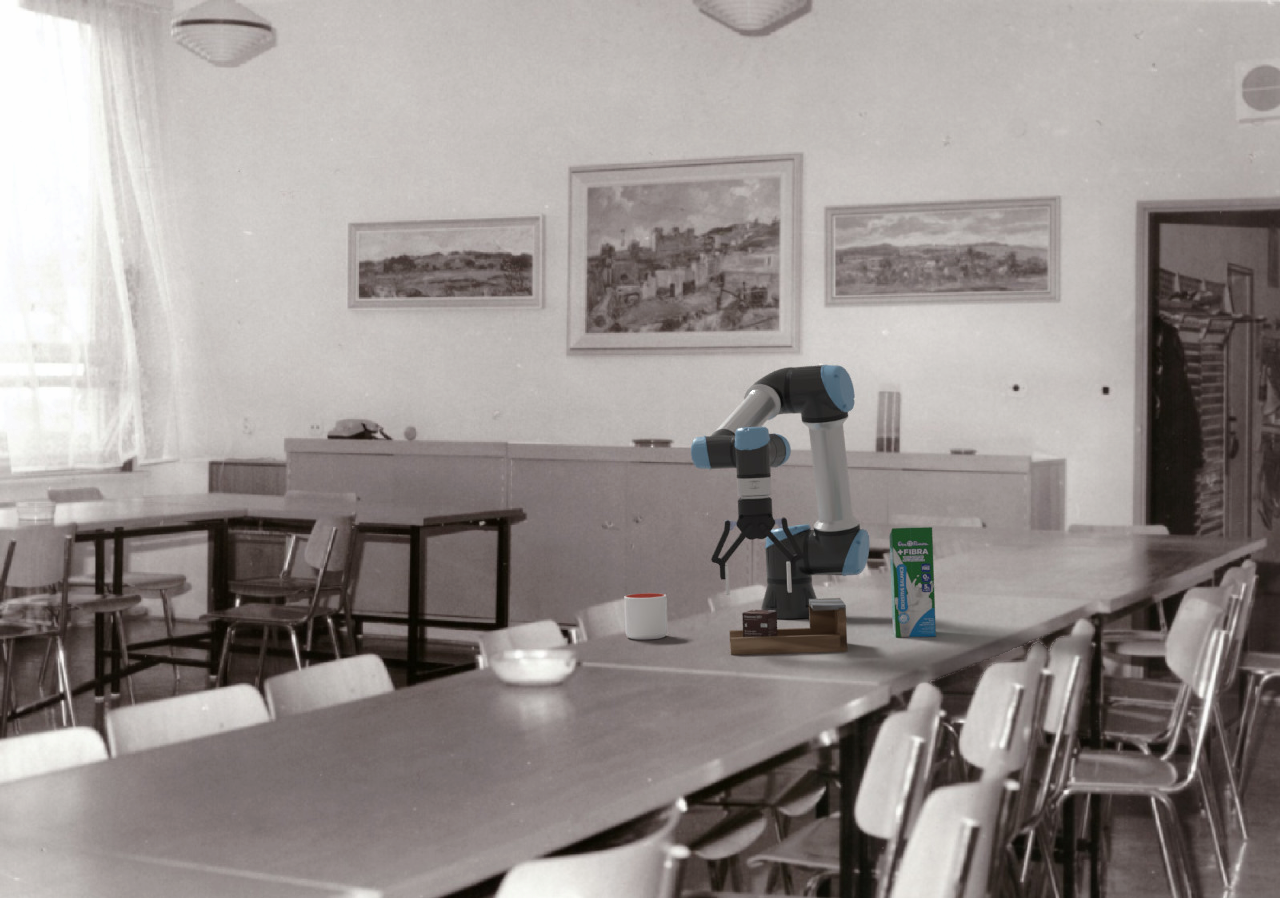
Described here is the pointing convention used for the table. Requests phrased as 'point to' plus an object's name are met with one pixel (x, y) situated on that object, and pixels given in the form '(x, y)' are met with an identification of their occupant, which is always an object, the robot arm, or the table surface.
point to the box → (759, 623)
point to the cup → (646, 616)
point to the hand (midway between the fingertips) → (758, 593)
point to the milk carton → (912, 582)
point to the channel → (801, 633)
